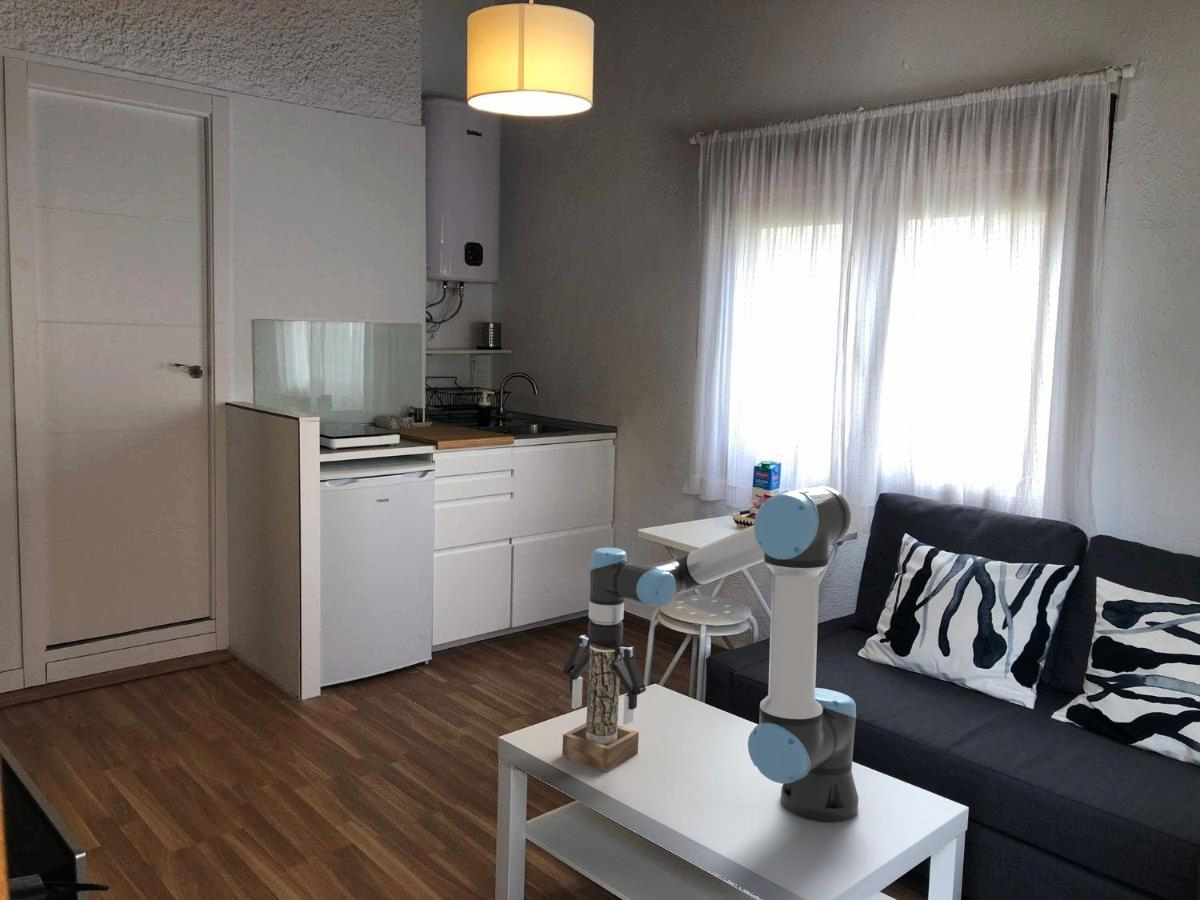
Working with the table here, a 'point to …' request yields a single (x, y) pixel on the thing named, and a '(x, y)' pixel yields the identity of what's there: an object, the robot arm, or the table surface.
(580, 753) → the holder
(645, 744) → the table surface
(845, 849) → the table surface
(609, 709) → the paper tube
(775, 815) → the table surface
